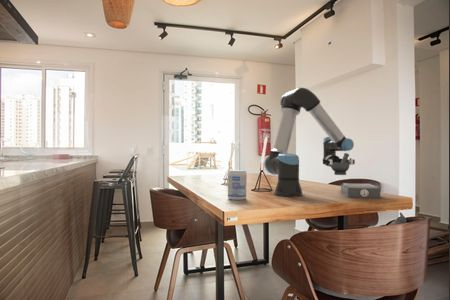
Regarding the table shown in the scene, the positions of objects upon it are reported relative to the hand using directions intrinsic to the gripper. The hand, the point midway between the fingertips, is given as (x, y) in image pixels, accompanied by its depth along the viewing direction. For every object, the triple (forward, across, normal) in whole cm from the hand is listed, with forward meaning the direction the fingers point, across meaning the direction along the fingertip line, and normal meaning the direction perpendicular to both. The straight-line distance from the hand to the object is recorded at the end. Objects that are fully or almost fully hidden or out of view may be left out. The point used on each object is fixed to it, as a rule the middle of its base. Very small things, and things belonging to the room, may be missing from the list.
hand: (342, 162), depth 153 cm
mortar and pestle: (-4, 0, -7) cm, 8 cm away
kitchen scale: (-6, -10, -19) cm, 22 cm away
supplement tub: (+17, +56, -18) cm, 61 cm away
